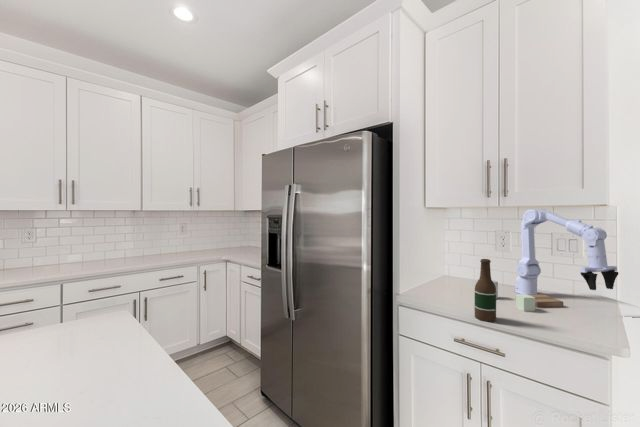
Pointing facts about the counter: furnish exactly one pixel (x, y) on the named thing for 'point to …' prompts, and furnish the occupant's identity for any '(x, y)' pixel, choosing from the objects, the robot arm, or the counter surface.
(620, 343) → the counter surface
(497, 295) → the medicine box
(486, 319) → the beer bottle
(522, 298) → the sage block
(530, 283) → the robot arm
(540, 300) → the walnut block
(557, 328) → the counter surface
